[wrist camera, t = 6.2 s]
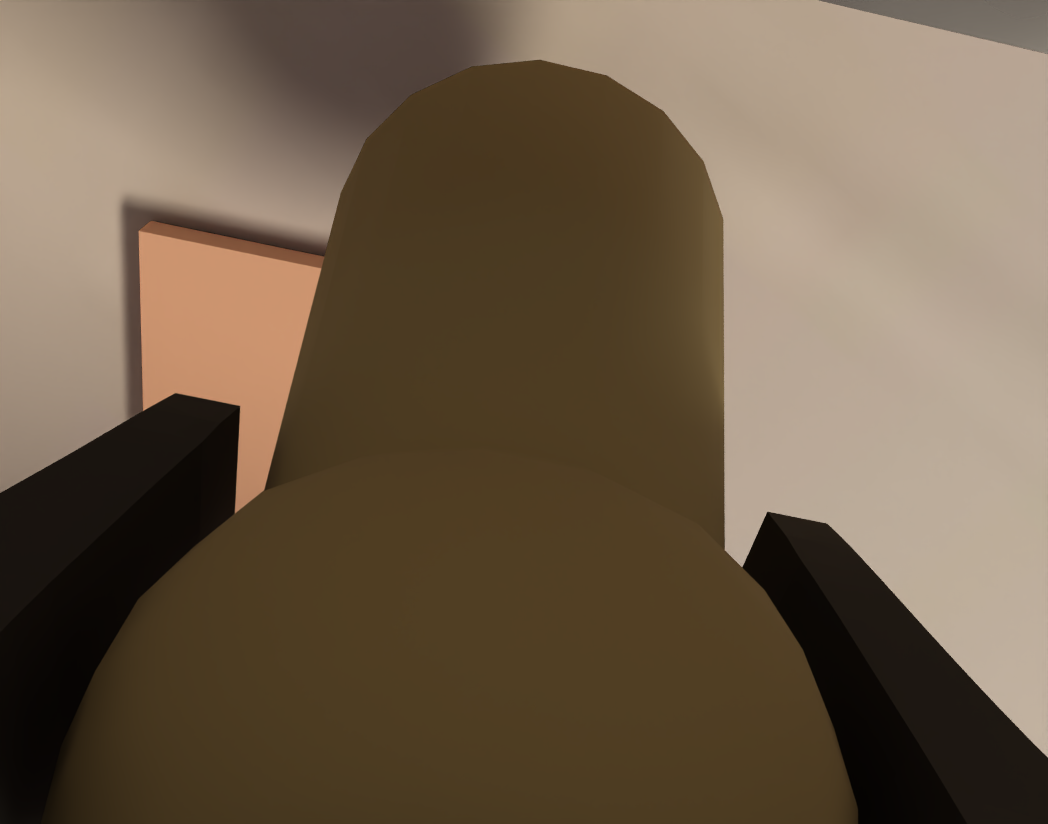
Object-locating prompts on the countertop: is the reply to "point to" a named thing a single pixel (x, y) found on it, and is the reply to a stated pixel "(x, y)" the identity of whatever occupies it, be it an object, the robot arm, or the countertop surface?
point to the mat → (225, 330)
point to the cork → (480, 517)
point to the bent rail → (971, 18)
